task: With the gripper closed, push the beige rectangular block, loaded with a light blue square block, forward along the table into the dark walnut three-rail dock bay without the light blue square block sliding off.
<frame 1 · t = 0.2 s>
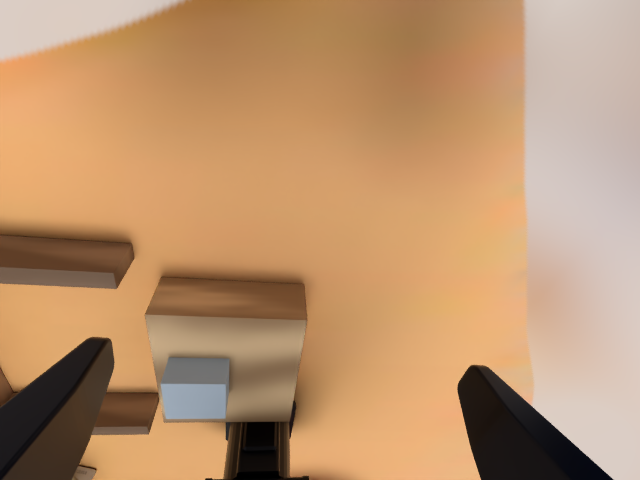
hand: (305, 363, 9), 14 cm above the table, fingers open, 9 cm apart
beige rectangular block: (234, 333, 29), on the table, touching light blue square block
dock bay: (66, 333, 27), on the table
light blue square block: (200, 376, 25), point 4 cm above the table, touching beige rectangular block
coffee box: (44, 469, 37), on the table
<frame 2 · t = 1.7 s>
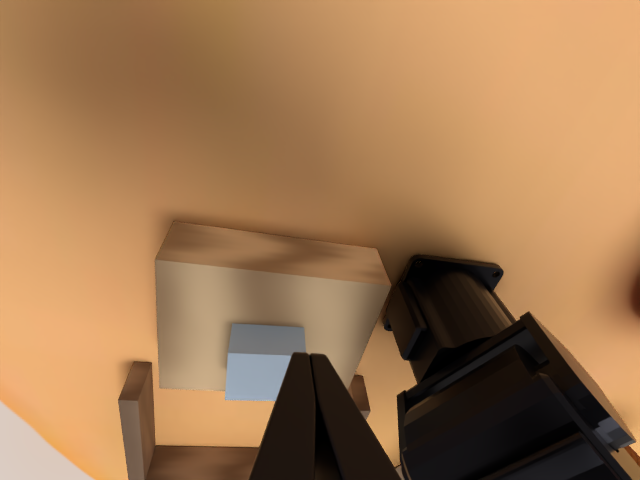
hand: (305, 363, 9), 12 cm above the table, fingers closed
beige rectangular block: (269, 294, 24), on the table
dock bay: (247, 412, 30), on the table
light blue square block: (265, 349, 21), point 4 cm above the table
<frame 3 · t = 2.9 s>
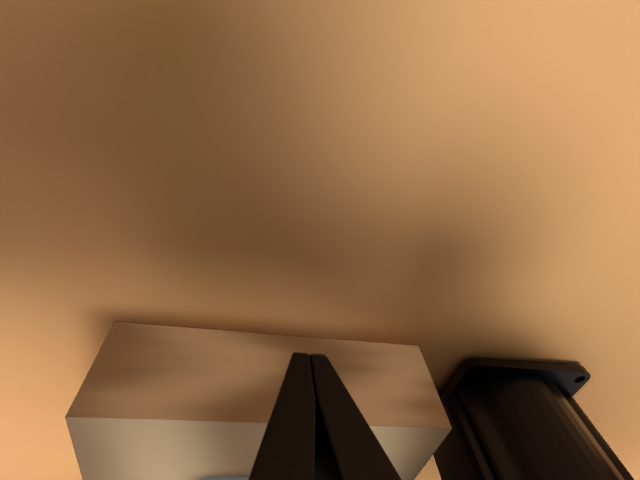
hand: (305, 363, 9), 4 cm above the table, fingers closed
beige rectangular block: (263, 399, 17), on the table
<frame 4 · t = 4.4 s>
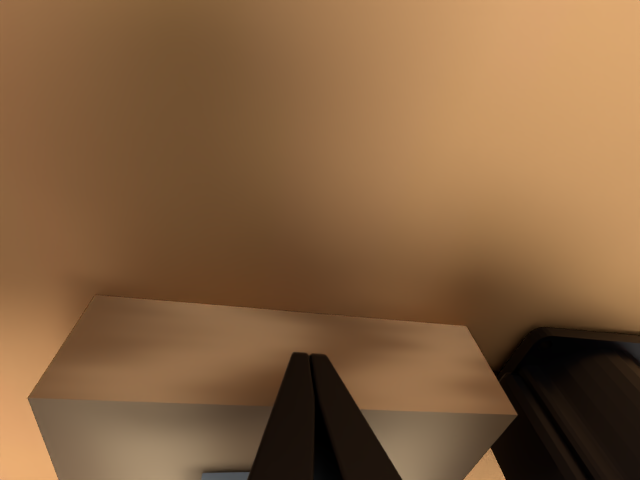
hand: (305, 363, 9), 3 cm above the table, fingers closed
beige rectangular block: (277, 387, 15), on the table, touching light blue square block, gripper
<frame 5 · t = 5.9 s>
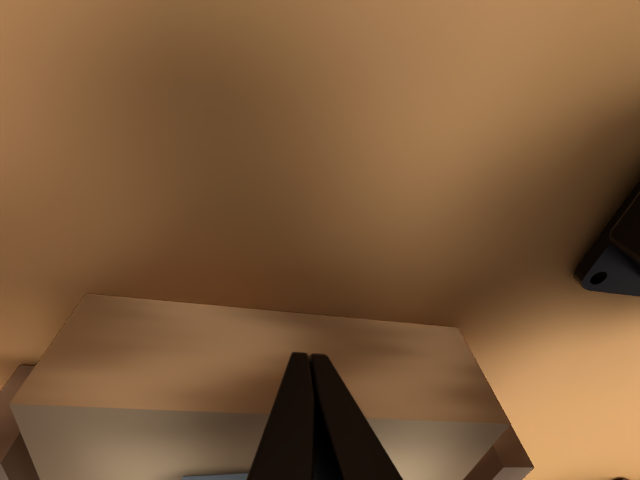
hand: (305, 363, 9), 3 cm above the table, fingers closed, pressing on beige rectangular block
beige rectangular block: (269, 392, 14), on the table, touching gripper
dock bay: (265, 458, 16), on the table
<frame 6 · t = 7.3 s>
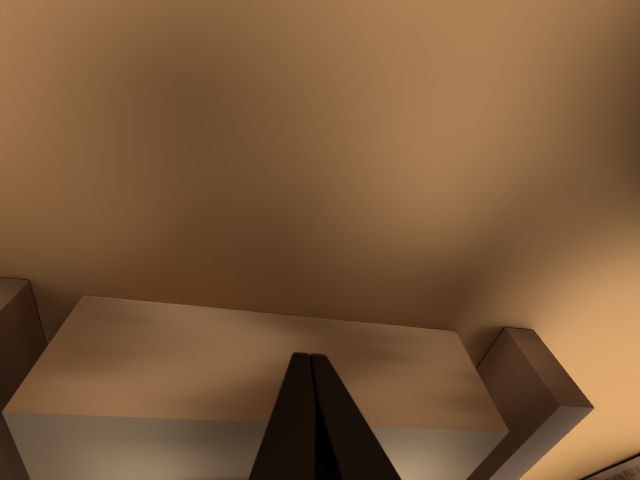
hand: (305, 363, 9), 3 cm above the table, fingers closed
beige rectangular block: (266, 395, 14), on the table, touching light blue square block
dock bay: (271, 411, 14), on the table
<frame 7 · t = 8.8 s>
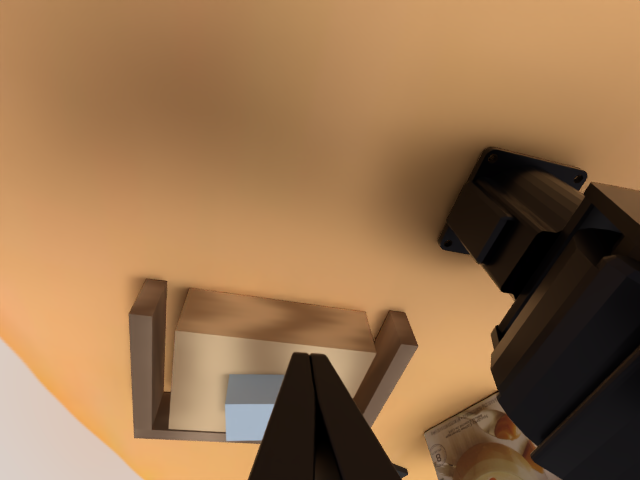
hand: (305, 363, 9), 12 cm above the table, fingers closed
beige rectangular block: (268, 345, 27), on the table
dock bay: (270, 353, 27), on the table
light blue square block: (260, 393, 23), point 4 cm above the table
coffee box: (476, 419, 35), on the table
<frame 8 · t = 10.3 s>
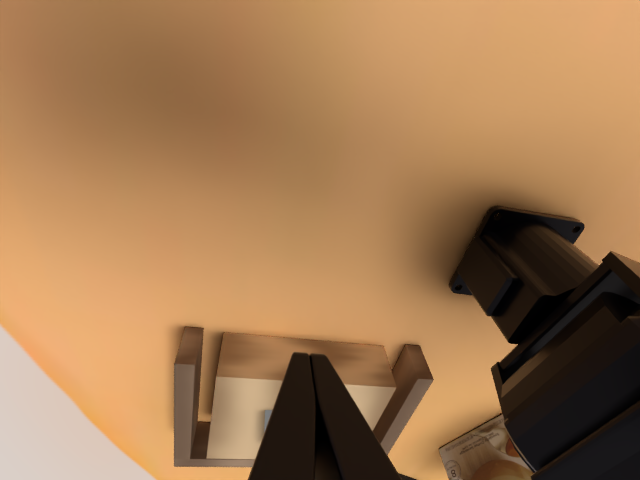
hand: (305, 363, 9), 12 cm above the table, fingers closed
beige rectangular block: (294, 376, 29), on the table, touching light blue square block
dock bay: (295, 385, 29), on the table
coffee box: (487, 435, 37), on the table
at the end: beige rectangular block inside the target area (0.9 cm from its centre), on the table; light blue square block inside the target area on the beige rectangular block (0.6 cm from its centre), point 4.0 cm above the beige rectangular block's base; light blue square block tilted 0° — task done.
